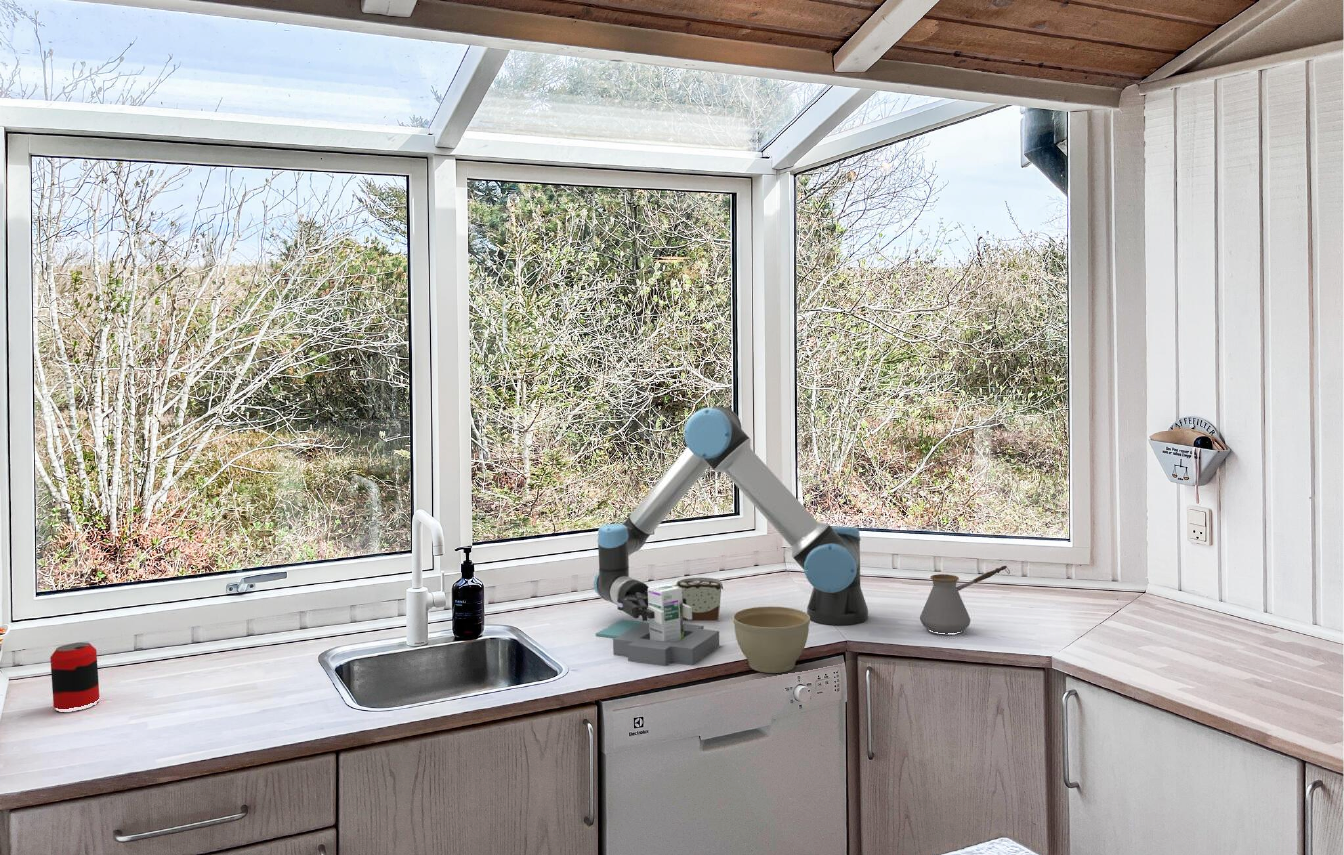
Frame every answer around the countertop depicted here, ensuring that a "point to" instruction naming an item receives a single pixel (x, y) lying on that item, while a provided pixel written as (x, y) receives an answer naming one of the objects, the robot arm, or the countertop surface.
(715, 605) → the food container
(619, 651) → the frame
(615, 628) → the service mat
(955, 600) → the coffee pot
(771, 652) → the planter bowl
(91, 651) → the soda can
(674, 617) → the syrup box
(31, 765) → the countertop surface
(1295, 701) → the countertop surface
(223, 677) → the countertop surface
